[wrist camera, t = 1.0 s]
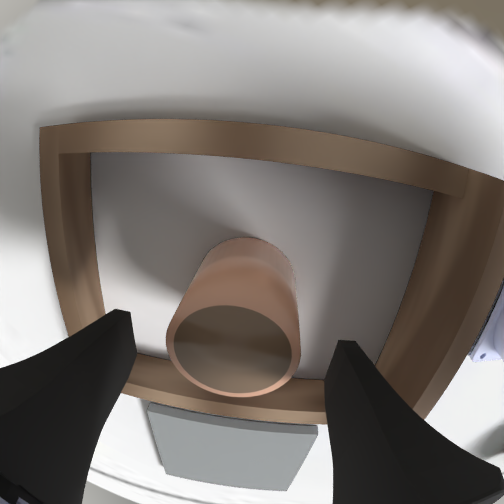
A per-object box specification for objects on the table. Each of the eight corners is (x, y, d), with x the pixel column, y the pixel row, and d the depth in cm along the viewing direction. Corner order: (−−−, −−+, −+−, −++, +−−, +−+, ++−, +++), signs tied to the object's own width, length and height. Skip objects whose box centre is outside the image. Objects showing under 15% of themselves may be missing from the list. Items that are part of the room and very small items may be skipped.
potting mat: (317, 425, 18) (318, 434, 18) (286, 484, 23) (286, 491, 22) (150, 402, 19) (146, 410, 18) (167, 468, 24) (166, 474, 23)
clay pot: (302, 244, 13) (314, 307, 9) (287, 327, 15) (287, 403, 11) (200, 231, 14) (160, 287, 9) (198, 315, 15) (170, 386, 11)
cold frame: (459, 166, 11) (529, 191, 6) (378, 393, 17) (393, 456, 12) (72, 124, 12) (-2, 133, 7) (100, 356, 17) (66, 408, 13)
